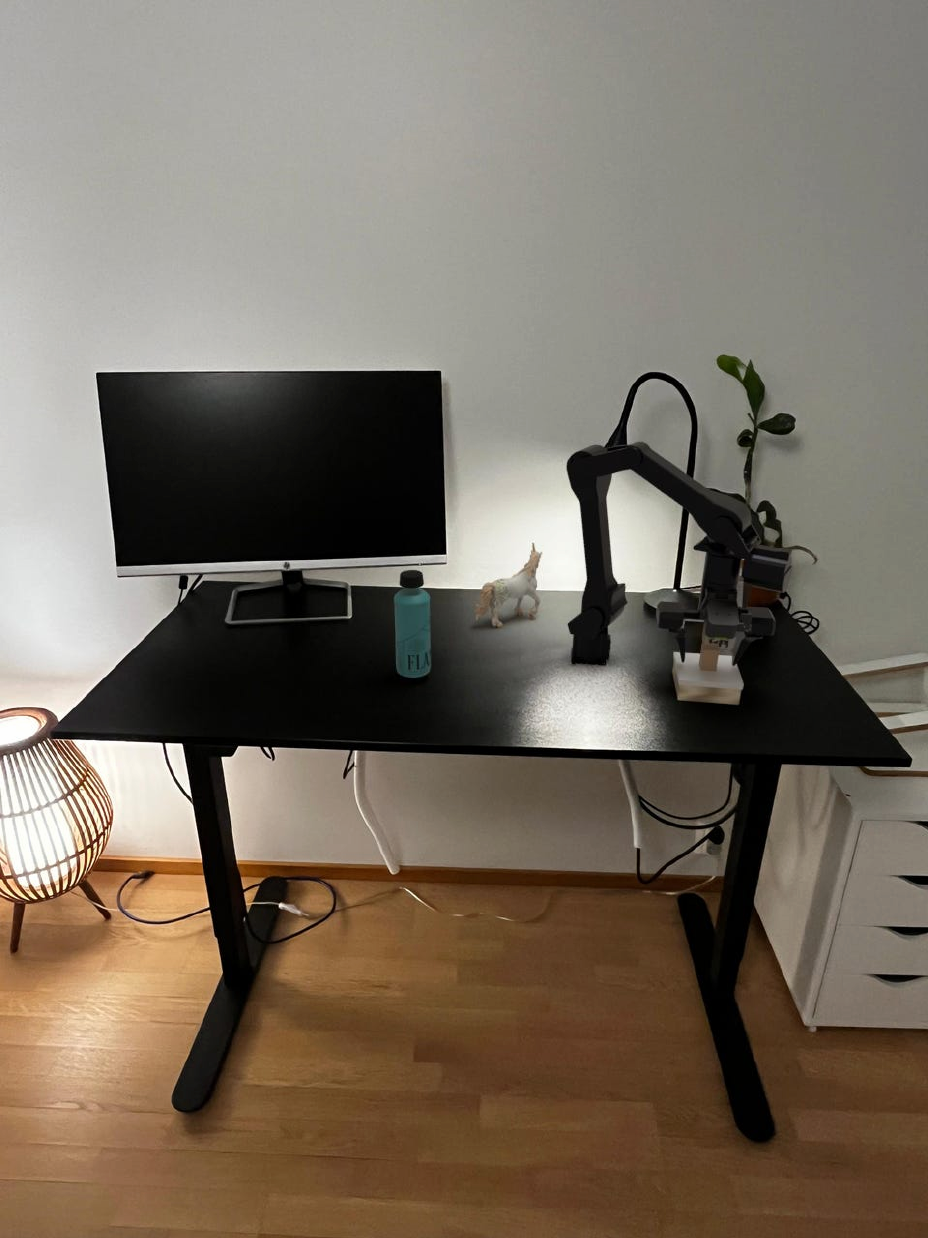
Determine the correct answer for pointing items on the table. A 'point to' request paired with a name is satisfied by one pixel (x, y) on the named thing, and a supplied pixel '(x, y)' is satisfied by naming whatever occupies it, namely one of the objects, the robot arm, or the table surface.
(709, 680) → the lid
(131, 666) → the table surface
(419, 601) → the beverage bottle
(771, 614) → the robot arm
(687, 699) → the box
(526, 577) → the unicorn figurine
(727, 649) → the coffee box
